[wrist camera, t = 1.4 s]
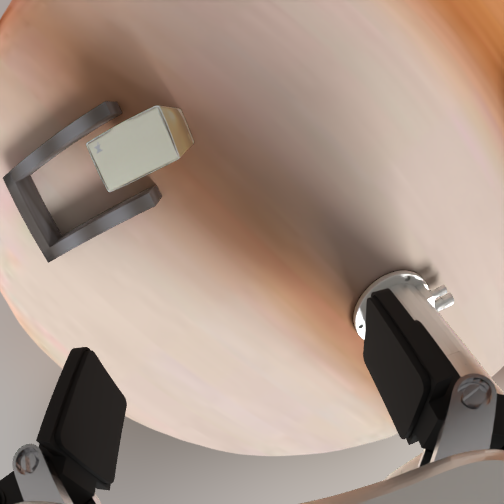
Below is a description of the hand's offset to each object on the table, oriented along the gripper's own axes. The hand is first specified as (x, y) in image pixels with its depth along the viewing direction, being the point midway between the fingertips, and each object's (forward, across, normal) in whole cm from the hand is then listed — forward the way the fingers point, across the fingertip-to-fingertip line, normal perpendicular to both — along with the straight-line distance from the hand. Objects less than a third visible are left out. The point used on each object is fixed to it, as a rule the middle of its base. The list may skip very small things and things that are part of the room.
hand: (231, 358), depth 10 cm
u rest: (+27, +16, -3) cm, 31 cm away
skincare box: (+27, +5, -6) cm, 28 cm away
